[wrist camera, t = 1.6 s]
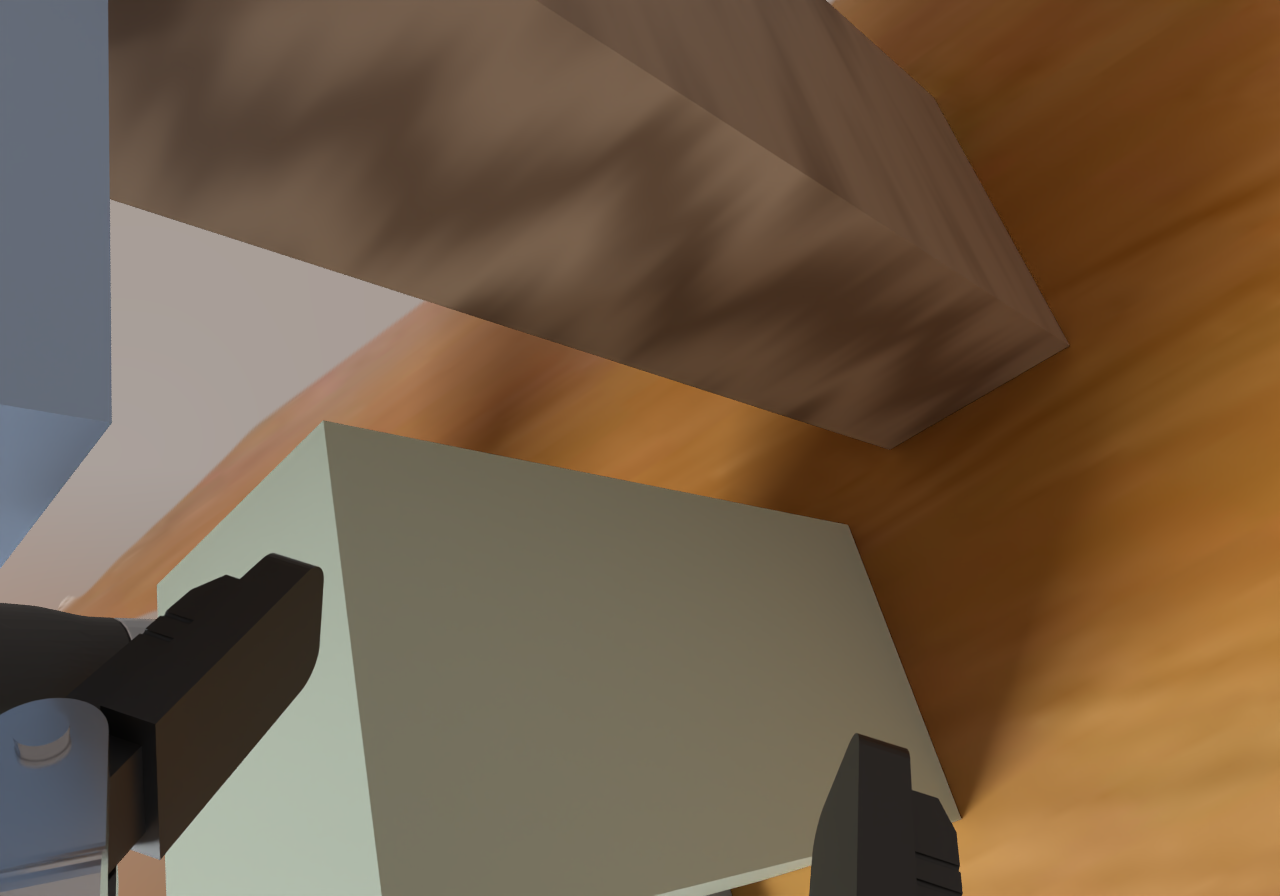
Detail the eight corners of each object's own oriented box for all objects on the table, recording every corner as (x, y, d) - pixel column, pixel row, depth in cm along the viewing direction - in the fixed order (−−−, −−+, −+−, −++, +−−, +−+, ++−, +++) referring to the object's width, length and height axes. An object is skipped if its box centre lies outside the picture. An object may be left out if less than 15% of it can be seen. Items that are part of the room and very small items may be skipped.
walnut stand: (889, 449, 40) (-21, 157, 17) (789, 212, 45) (8, -245, 23) (1069, 345, 35) (164, -240, 13) (933, 97, 41) (143, -613, 18)
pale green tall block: (756, 882, 41) (170, 1036, 24) (680, 615, 46) (157, 585, 29) (961, 819, 35) (389, 961, 18) (848, 524, 40) (323, 420, 23)
